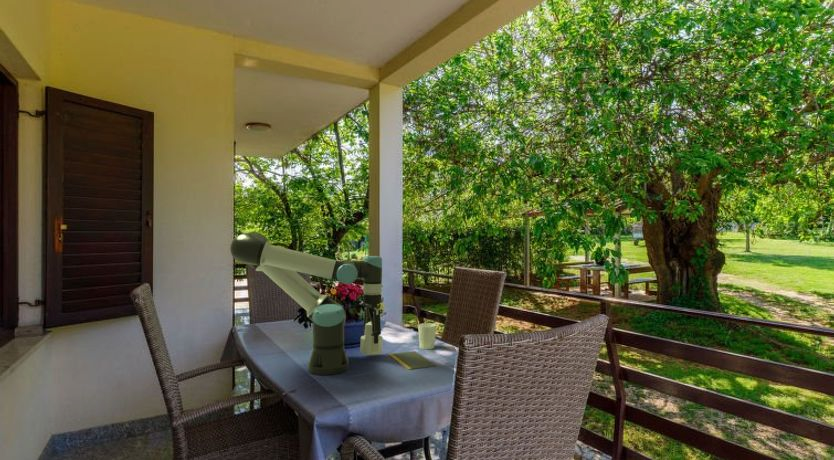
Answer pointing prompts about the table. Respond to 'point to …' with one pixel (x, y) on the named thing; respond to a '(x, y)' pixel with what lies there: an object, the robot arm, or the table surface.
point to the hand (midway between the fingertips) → (371, 348)
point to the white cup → (426, 335)
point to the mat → (412, 360)
